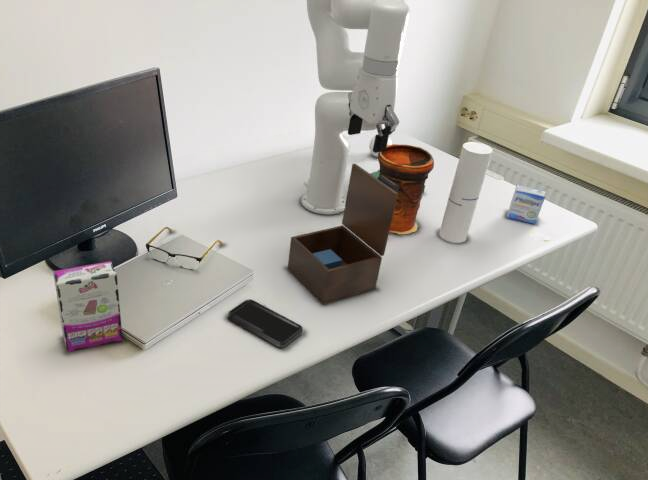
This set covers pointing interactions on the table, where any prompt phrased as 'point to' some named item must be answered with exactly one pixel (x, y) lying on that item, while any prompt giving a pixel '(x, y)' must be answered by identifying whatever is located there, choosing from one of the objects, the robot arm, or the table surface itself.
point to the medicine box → (526, 204)
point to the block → (329, 258)
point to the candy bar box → (88, 305)
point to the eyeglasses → (177, 254)
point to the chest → (339, 281)
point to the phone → (265, 323)
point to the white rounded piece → (373, 145)
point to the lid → (370, 207)
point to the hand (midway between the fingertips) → (366, 142)
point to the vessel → (406, 182)
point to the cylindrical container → (465, 191)
